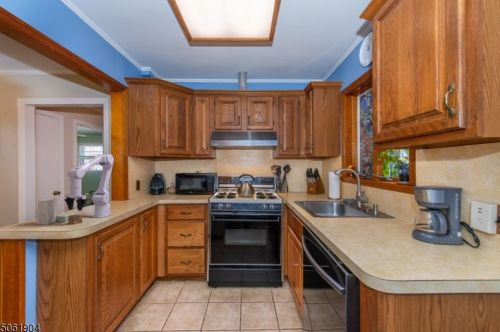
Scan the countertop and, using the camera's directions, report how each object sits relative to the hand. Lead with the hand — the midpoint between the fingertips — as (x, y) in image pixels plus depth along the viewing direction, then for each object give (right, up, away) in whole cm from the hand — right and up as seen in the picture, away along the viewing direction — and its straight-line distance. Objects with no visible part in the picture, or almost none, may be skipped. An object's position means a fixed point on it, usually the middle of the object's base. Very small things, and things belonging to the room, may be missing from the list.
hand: (75, 210), depth 150 cm
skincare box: (-16, -8, -2) cm, 18 cm away
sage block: (-11, -8, +7) cm, 15 cm away
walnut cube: (0, -8, 0) cm, 8 cm away
